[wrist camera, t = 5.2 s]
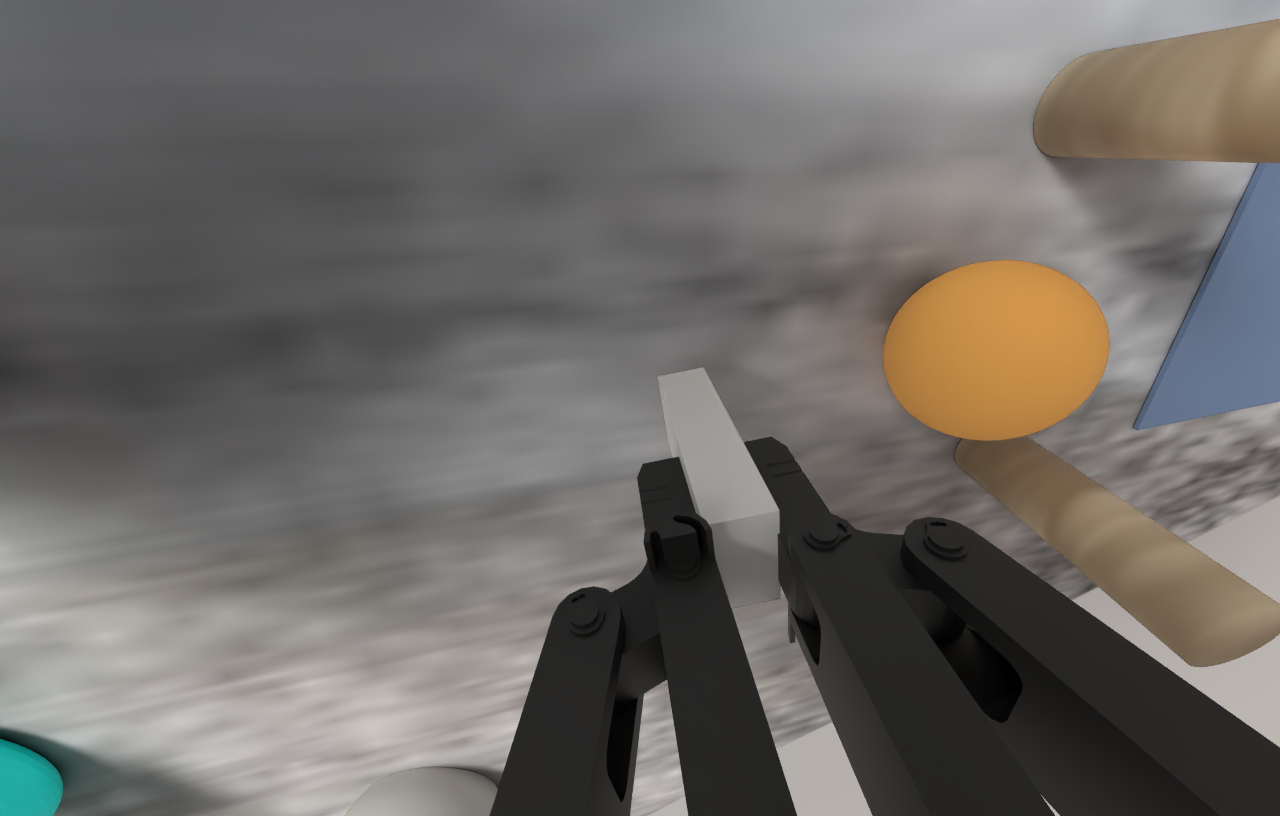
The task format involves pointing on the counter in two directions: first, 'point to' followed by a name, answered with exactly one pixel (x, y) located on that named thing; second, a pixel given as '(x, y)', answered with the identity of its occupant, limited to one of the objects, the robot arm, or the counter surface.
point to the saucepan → (427, 794)
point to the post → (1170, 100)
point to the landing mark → (1229, 320)
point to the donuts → (27, 782)
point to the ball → (996, 350)
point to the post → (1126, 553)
